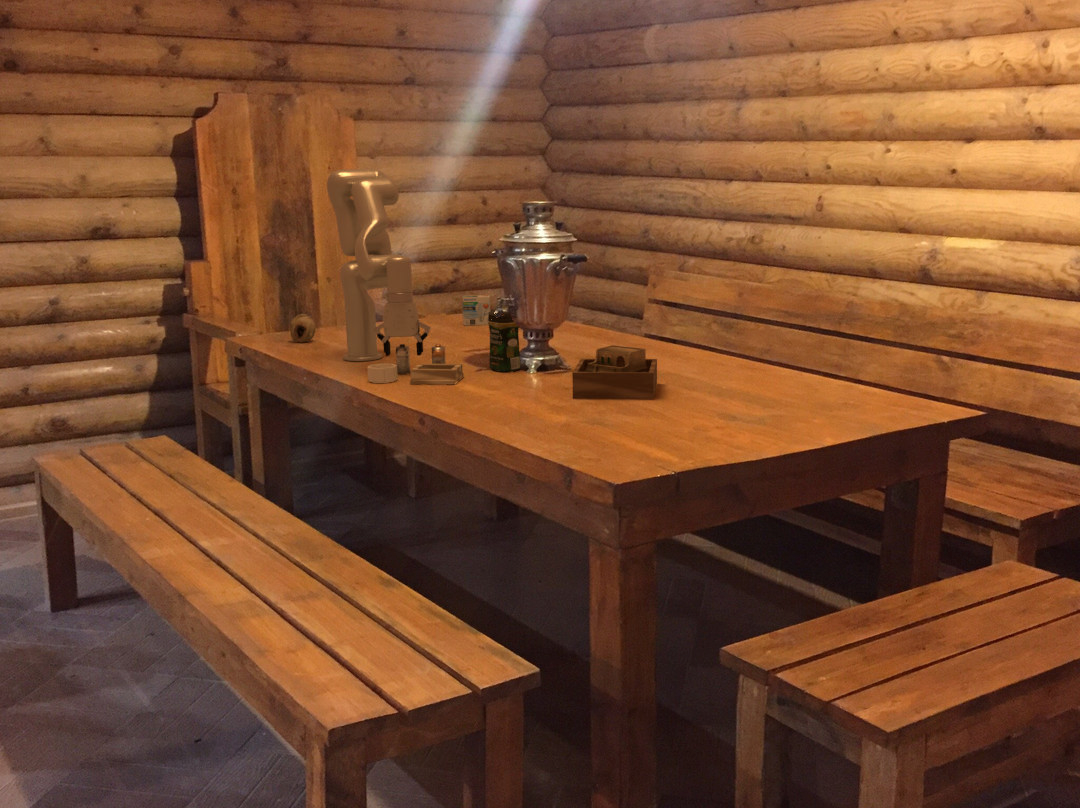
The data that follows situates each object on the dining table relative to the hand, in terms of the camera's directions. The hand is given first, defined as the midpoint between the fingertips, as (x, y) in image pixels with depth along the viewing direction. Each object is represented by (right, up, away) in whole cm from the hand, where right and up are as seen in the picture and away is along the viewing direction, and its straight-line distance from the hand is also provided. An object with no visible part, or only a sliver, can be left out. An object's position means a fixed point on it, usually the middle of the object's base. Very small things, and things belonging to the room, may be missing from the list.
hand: (403, 355), depth 346 cm
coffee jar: (+30, -5, +3) cm, 31 cm away
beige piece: (-5, -8, -9) cm, 13 cm away
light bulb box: (+17, +16, +95) cm, 98 cm away
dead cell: (0, -5, +2) cm, 6 cm away
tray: (+11, -8, -11) cm, 17 cm away
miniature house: (+61, -11, -29) cm, 69 cm away
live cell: (+11, -5, 0) cm, 12 cm away
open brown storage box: (+62, -11, -30) cm, 69 cm away
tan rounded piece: (-43, +7, +62) cm, 76 cm away
